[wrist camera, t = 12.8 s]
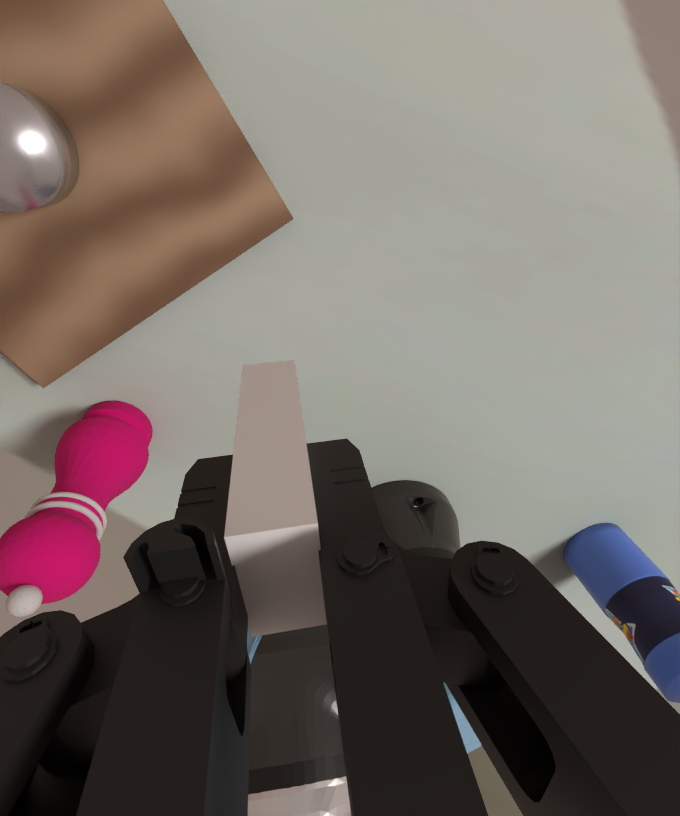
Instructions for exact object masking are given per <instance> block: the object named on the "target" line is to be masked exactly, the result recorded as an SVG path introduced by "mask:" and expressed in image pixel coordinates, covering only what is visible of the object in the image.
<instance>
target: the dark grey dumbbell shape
mask: <svg viewBox="0 0 680 816" xmlns="http://www.w3.org/2000/svg"><path fill="white" fill-rule="evenodd" d="M79 167H80V164H79V155H78V150H77V147H76V143H75V141H74V138H73V136H72V134H71V132H70V130H69V128H68V127H67V125H66V124H65V122H64V121H63V119H62V118H61V117H60V116H59V114H58V113H57V112H56V111H55V110H54V109H53V108H52V107H51V106H50V105H49V104H48V103H46V102H45V101H44V100H43V99H41V98H40V97H38V96H37V95H35V94H34V93H32V92H30V91H28V90H26V89H24V88H21V87H18V86H15V85H12V84H8V83H5V82H2V81H0V211H4V212H23V211H28V210H33V209H37V208H42V207H47V206H51V205H54V204H57V203H59V202H61V201H62V200H64V199H65V198H66V197H68V196H69V194H70V193H71V192H72V191H73V189H74V187H75V185H76V183H77V180H78V176H79Z"/></svg>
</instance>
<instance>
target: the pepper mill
mask: <svg viewBox="0 0 680 816" xmlns="http://www.w3.org/2000/svg"><path fill="white" fill-rule="evenodd" d="M151 438H152V426H151V423H150V421H149V419H148V418H147V416H146V415H145V414H144V413H143V412H142V411H141V410H139V409H138V408H136V407H134V406H133V405H130V404H128V403H124V402H120V401H106V402H102V403H99V404H96V405H94V406H93V407H91V408H90V409H89V410H88V411H87V412H86V414H85V415H84V417H83V418H82V419H81V420H80V421H78V422H76V423H74V424H73V425H72V426H71V427H69V428H68V429H67V430H66V431H65V433H64V434H63V436H62V438H61V440H60V442H59V443H58V446H57V449H56V454H55V473H56V484H55V486H54V488H53V490H52V492H51V493H50V494H47V495H45V496H43V497H41V498H40V499H38V500H37V501H36V502H35V503H34V504H33V506H32V508H31V510H30V511H29V512H28V513H27V515H26V516H25V519H23V520H21V521H19V522H17V523H16V524H14V525H13V526H11V527H10V528H9V529H8V530H7V531H6V532H5V533H4V534H3V535H2V537H1V538H0V590H1V591H3V592H4V593H5V594H6V595H7V596H8V598H7V600H6V609H7V611H8V612H9V613H10V614H11V615H13V616H16V617H24V616H27V615H30V614H32V613H33V612H35V611H36V610H37V609H38V608H39V606H40V604H44V603H51V602H55V601H59V600H62V599H64V598H67V597H69V596H70V595H72V594H74V593H75V592H77V591H78V590H79V589H80V588H81V587H83V586H84V585H85V584H86V582H87V581H88V580H89V579H90V578H91V576H92V575H93V573H94V571H95V569H96V567H97V565H98V562H99V559H100V543H99V540H100V539H101V536H102V533H103V531H104V530H105V527H106V524H107V518H106V515H105V512H104V511H105V509H106V507H107V505H108V504H109V503H110V501H111V500H113V499H114V498H115V497H117V496H118V495H120V494H121V493H123V492H124V491H126V490H127V489H129V488H130V487H131V486H132V485H133V484H134V483H135V482H136V481H137V480H138V479H139V477H140V476H141V475H142V473H143V471H144V469H145V467H146V465H147V462H148V456H149V453H148V446H149V443H150V441H151Z"/></svg>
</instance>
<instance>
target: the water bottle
mask: <svg viewBox="0 0 680 816" xmlns="http://www.w3.org/2000/svg"><path fill="white" fill-rule="evenodd" d="M563 557H564V560H565V561H566V563H567V564H568V565H569V567H570V568H571V569H572V571H573V572H574V573H575V575H576V576H577V577H578V579H579V580H580V581H581V583H582V584H583V585H584V587H585V588H586V590H587V591H588V592H589V594H590V595H591V596H592V597H593V599H594V600H595V601H596V603H597V604H598V605H599V607H600V608H601V609H602V611H603V612H604V613H605V615H606V616H607V617H609V618H610V619H611V620H612V621H613V623H614V624H615V625H616V626H617V627H618V628H619V629H620V630H621V631H622V632H623V633H624V634H625V636H626V638H627V639H628V641H629V642H630V644H631V646H632V647H633V649H634V651H635V652H636V654H637V655H638V657H639V659H640V660H641V662H642V664H643V665H644V669H645V671H646V672H647V673H648V675H649V676H650V677H651V679H652V680H653V682H654V683H655V684H656V686H657V687H658V688H659V690H660V691H661V692H662V694H663V695H664V696H665V698H666V699H667V700H668V701H671V702H676V703H680V594H679V593H678V592H677V590H676V589H675V588H674V586H673V585H672V584H671V582H670V580H669V579H668V578H667V577H666V576H665V575H664V574H663V572H662V571H661V570H660V569H659V568H658V567H657V566H656V565H655V564H654V563H653V562H652V561H651V560H650V559H649V558H648V557H647V556H646V555H645V554H644V553H643V551H642V550H641V549H640V548H639V547H638V546H637V545H636V544H635V543H634V542H633V541H632V540H631V539H630V538H629V537H628V536H627V535H626V534H625V533H624V532H623V531H622V530H621V529H620V528H619V527H618V526H617V525H615V524H612V523H600V524H596V525H593V526H590V527H588V528H586V529H584V530H582V531H580V532H579V533H577V534H576V535H575V536H574V537H573V538H572V539H571V540H570V541H569V542H568V544H567V545H566V547H565V549H564V553H563Z"/></svg>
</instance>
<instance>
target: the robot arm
mask: <svg viewBox="0 0 680 816" xmlns="http://www.w3.org/2000/svg"><path fill="white" fill-rule="evenodd" d="M181 492H182V494H180V498H179V502H178V508H177V510H176V514H175V518H174V519H173V520H169V521H166V522H162V523H160V524H158V525H156V526H154V527H152V528H150V529H148V530H147V531H145V532H144V533H143V534H142V535H140V537H138V538H137V539H136V540H135V541H134V542H133V543H132V544H131V545H130V547H129V549H128V550H127V552H126V554H125V555H124V560H125V562H126V564H127V566H128V568H129V570H130V573H131V575H132V577H133V579H134V582H135V584H136V586H137V588H138V590H139V592H140V594H139V595H137V596H136V597H135V598H133V599H132V600H130V601H128V602H126V603H124V604H123V605H121V606H119V607H117V608H115V609H112V610H110V611H107V612H105V613H103V614H100V615H98V616H96V617H93V618H91V619H89V620H87V621H84V622H82V623H80V622H79V620H78V619H77V618H76V616H75V615H74V614H71V613H68V612H64V611H61V610H60V611H52V612H44V613H41V614H38V615H36V616H33V617H31V618H29V619H26V620H24V621H23V622H21V623H19V624H18V625H16V626H15V627H13V628H12V629H10V630H9V631H7V632H6V633H4V634H3V635H2V636H1V637H0V816H488V814H487V811H486V808H485V805H484V802H483V799H482V796H481V793H480V790H479V787H478V784H477V781H476V778H475V775H474V773H473V769H472V766H471V763H470V760H469V757H468V754H467V753H469V752H471V751H473V750H475V749H476V748H478V747H480V746H481V745H482V746H483V748H484V750H485V751H486V753H487V755H488V756H489V758H490V760H491V761H492V763H493V765H494V766H495V768H496V770H497V772H498V773H499V775H500V777H501V778H502V780H503V782H504V783H505V785H506V787H507V788H508V790H509V792H510V794H511V795H512V797H513V799H514V801H515V802H516V804H517V806H518V807H519V809H520V811H521V812H522V814H523V816H680V714H679V713H678V712H677V711H676V710H675V709H674V708H673V707H672V706H671V705H670V704H669V703H668V702H667V701H666V700H665V699H664V698H663V697H662V696H661V695H660V694H659V693H658V692H657V691H656V690H655V689H654V688H653V687H652V686H651V685H650V684H649V683H648V682H647V681H646V680H645V679H644V678H643V677H642V676H641V675H640V674H639V673H638V672H637V671H636V670H635V669H634V668H633V667H632V666H631V665H630V663H629V662H628V661H627V660H626V659H625V658H624V657H623V656H622V655H621V654H620V653H619V652H618V651H617V650H616V649H615V648H614V647H613V646H612V645H611V644H610V643H609V642H608V641H607V640H606V639H605V638H604V637H603V636H602V635H601V634H600V633H599V632H598V631H597V630H596V629H595V628H594V627H593V626H592V625H591V624H590V623H589V622H588V621H587V620H586V619H585V618H584V617H583V616H582V615H581V614H580V613H579V612H578V611H577V610H576V609H575V608H574V607H573V606H572V605H571V603H570V602H569V601H568V600H567V599H566V598H565V597H564V596H563V595H562V594H561V593H560V592H559V591H558V590H557V589H556V588H555V587H554V586H553V585H552V584H551V583H550V582H549V581H548V580H547V579H546V578H545V577H544V576H543V575H542V574H541V573H540V572H539V571H538V570H537V569H536V568H535V567H534V566H533V565H532V564H531V563H530V562H529V561H528V560H527V559H526V558H525V557H523V556H522V555H521V554H519V553H518V552H517V551H515V550H514V549H512V548H510V547H507V546H505V545H502V544H500V543H496V542H488V541H478V542H473V543H468V544H466V545H464V546H463V547H461V548H460V538H459V528H458V521H457V517H456V514H455V512H454V510H453V508H452V506H451V504H450V503H449V501H448V499H447V498H446V496H445V495H444V494H443V493H442V492H441V491H440V490H438V489H437V488H435V487H433V486H431V485H429V484H426V483H422V482H417V481H397V482H391V483H387V484H383V485H380V486H377V487H375V488H373V489H371V485H370V482H369V480H368V476H367V473H366V470H365V468H364V464H363V461H362V457H361V454H360V451H359V449H357V448H356V447H355V446H354V445H353V444H352V443H351V442H350V441H349V440H348V439H340V440H332V441H324V442H317V443H309V444H306V437H305V430H304V423H303V416H302V409H301V402H300V395H299V388H298V381H297V374H296V367H295V360H289V361H280V362H271V363H262V364H252V365H243V369H242V378H241V388H240V397H239V406H238V415H237V424H236V433H235V442H234V452H233V455H227V456H219V457H212V458H204V459H198V460H197V461H196V462H195V464H194V465H193V466H192V467H191V468H190V470H189V471H188V472H187V473H186V475H185V478H184V482H183V486H182V490H181Z"/></svg>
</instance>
